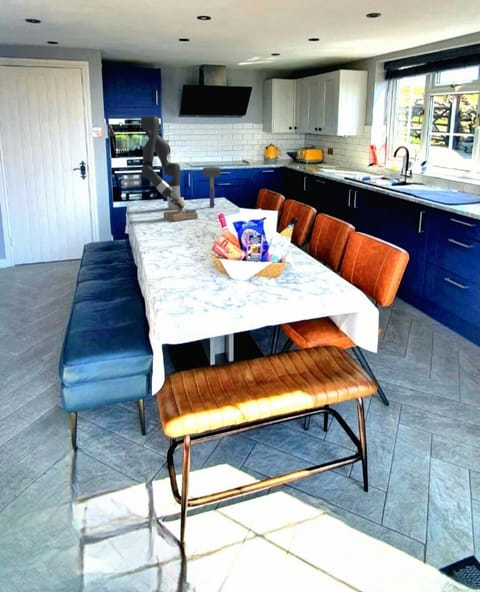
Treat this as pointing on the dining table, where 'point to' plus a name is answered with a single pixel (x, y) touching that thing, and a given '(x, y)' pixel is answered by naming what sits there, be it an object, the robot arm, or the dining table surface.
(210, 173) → the rubber mallet
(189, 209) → the stud finder
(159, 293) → the dining table surface
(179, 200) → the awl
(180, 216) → the subfloor panel
